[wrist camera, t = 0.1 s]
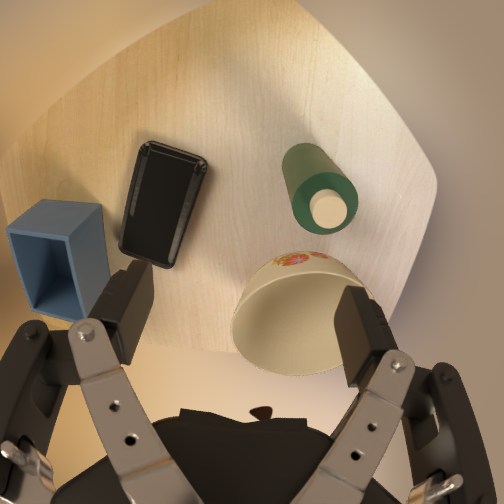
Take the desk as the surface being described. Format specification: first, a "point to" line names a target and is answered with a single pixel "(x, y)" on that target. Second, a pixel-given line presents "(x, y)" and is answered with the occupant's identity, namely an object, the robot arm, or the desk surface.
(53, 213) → the blue open storage bin
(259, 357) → the bowl
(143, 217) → the phone
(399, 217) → the desk surface
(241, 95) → the desk surface
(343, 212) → the bottle
